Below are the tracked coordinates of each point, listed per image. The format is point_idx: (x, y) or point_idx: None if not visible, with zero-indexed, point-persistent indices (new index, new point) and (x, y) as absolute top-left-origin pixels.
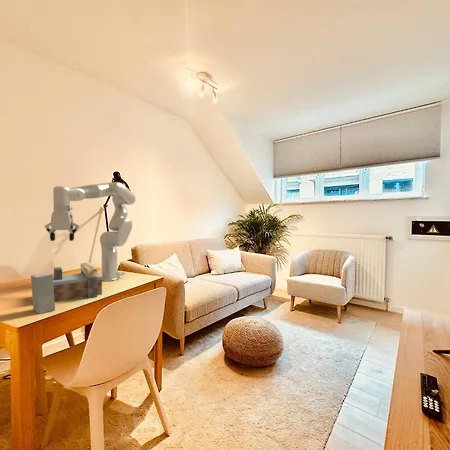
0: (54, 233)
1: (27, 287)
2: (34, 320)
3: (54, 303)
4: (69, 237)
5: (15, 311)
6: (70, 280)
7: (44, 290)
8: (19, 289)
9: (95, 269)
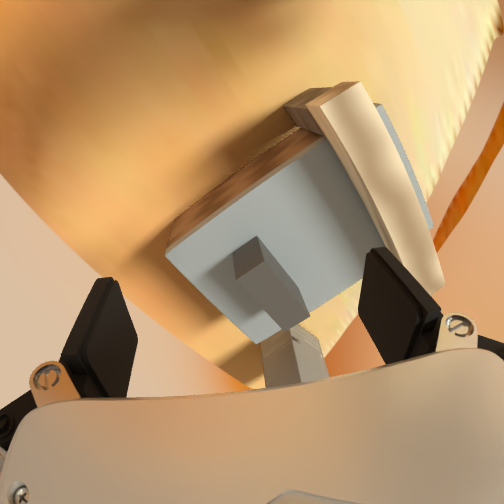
0: (85, 362)
1: (33, 115)
2: None
3: (321, 350)
4: (374, 340)
5: (222, 349)
6: (337, 293)
7: None
8: (28, 148)
9: (439, 287)
